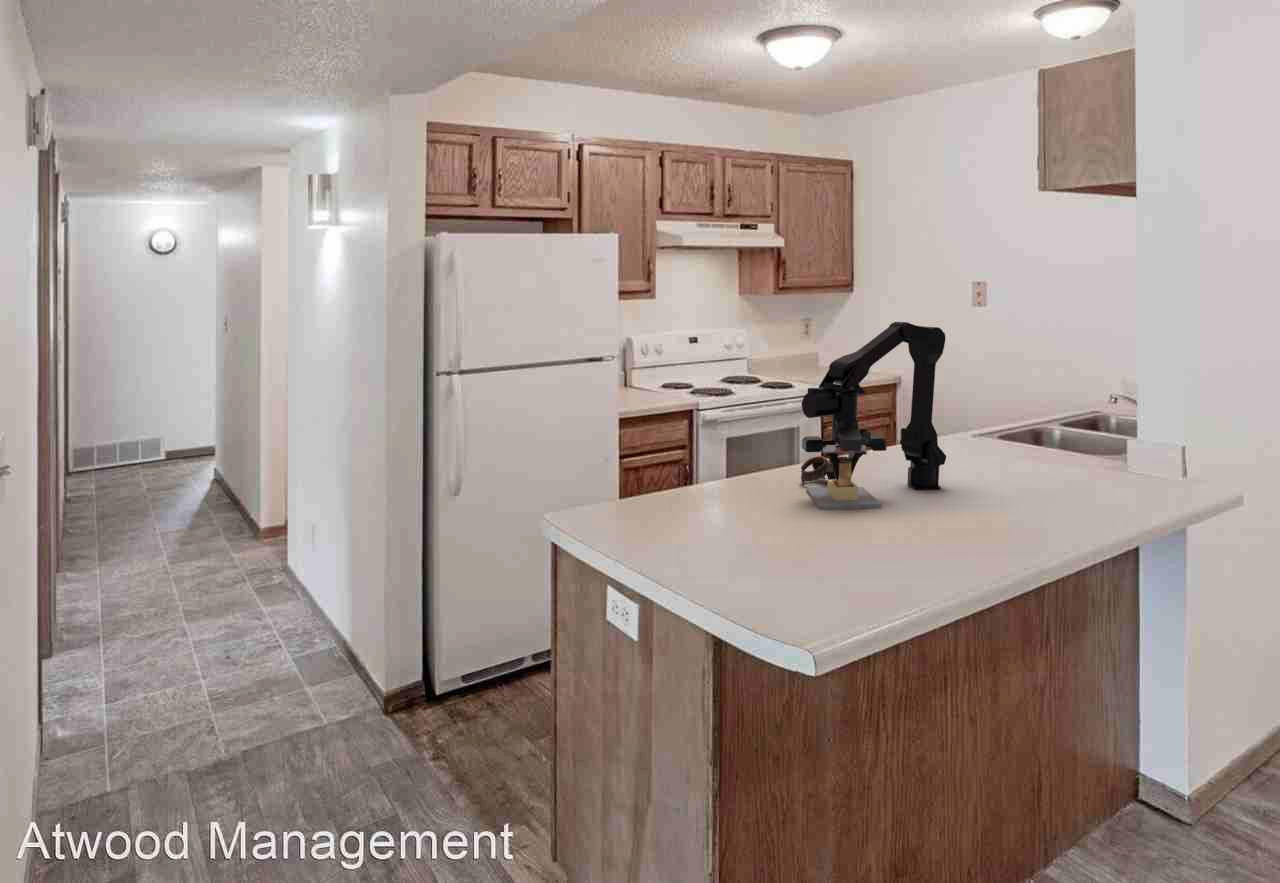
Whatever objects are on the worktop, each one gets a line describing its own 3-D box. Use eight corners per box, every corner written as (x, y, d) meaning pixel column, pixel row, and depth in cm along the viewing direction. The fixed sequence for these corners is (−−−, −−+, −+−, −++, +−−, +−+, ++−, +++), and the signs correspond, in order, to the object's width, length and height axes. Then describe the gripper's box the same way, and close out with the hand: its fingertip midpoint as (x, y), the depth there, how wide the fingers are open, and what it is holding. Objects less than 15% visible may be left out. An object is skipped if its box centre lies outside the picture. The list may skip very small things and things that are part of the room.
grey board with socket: (862, 490, 213) (863, 475, 213) (881, 508, 198) (881, 491, 197) (806, 492, 213) (806, 476, 213) (819, 509, 198) (820, 492, 197)
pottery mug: (846, 490, 217) (833, 464, 214) (811, 505, 219) (798, 480, 216) (838, 467, 228) (825, 443, 225) (805, 482, 230) (792, 458, 227)
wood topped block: (845, 485, 207) (846, 456, 206) (850, 490, 202) (851, 460, 201) (835, 485, 207) (835, 456, 206) (839, 490, 202) (840, 461, 201)
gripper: (811, 420, 194) (810, 488, 197) (894, 418, 194) (892, 486, 197) (801, 412, 205) (801, 477, 208) (880, 411, 205) (878, 475, 208)
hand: (842, 479), depth 204 cm, fingers closed on wood topped block, 2 cm apart
